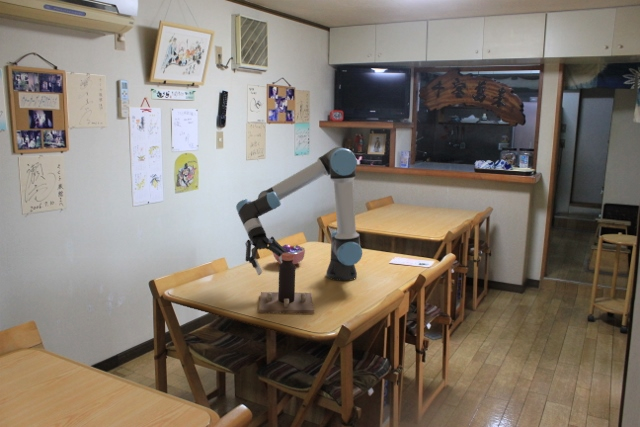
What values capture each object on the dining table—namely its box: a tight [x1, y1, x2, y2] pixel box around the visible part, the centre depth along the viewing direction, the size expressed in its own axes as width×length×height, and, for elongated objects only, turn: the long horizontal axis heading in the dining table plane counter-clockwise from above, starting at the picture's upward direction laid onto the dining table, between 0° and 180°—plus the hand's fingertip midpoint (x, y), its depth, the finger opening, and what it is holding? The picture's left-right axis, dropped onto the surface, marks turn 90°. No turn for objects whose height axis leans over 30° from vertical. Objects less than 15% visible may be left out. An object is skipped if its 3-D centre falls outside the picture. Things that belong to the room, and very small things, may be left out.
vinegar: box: [277, 253, 296, 303], centre depth 223 cm, size 7×7×20 cm
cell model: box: [272, 244, 306, 266], centre depth 287 cm, size 17×20×11 cm
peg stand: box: [258, 291, 315, 315], centre depth 224 cm, size 22×22×4 cm
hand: (273, 271), depth 230 cm, fingers open, 13 cm apart
